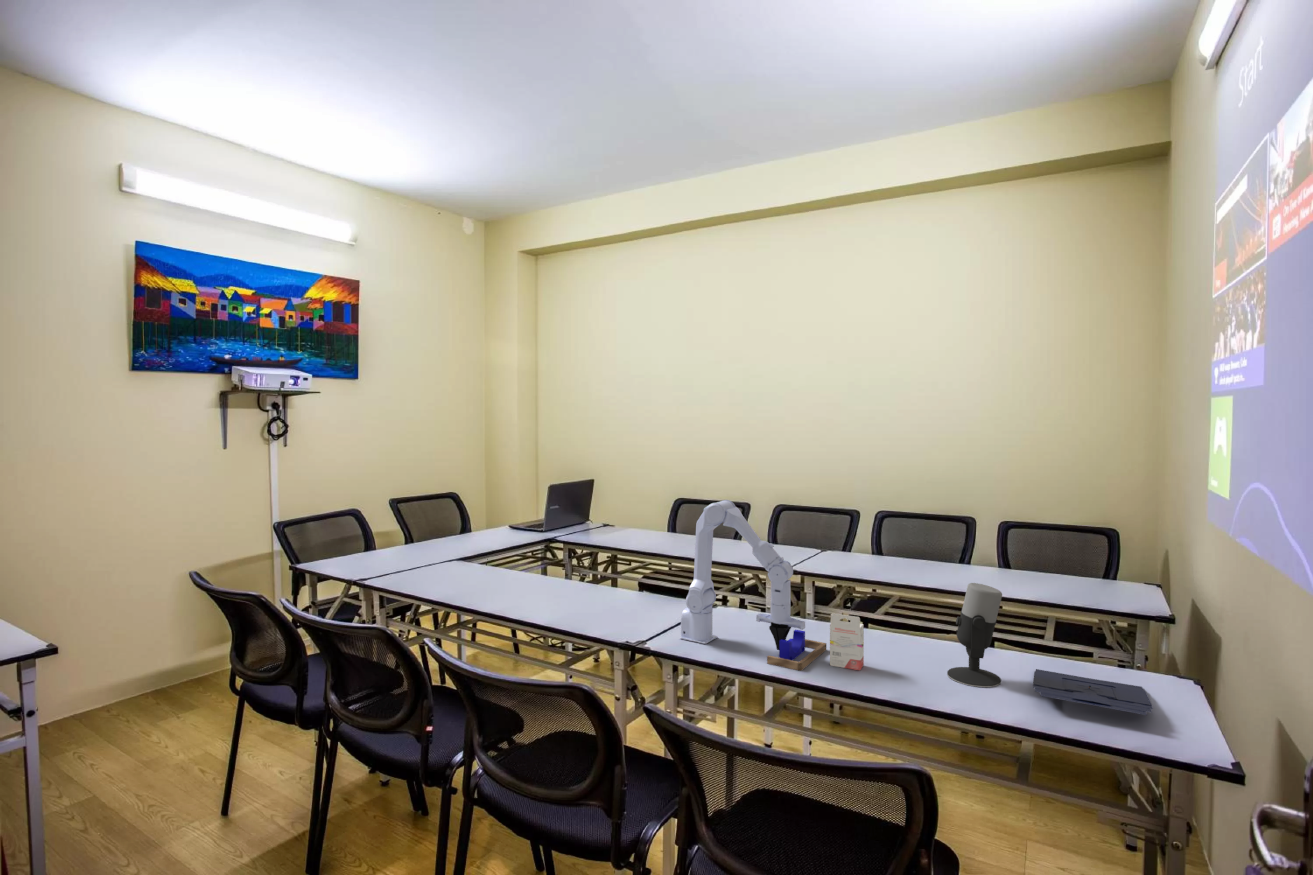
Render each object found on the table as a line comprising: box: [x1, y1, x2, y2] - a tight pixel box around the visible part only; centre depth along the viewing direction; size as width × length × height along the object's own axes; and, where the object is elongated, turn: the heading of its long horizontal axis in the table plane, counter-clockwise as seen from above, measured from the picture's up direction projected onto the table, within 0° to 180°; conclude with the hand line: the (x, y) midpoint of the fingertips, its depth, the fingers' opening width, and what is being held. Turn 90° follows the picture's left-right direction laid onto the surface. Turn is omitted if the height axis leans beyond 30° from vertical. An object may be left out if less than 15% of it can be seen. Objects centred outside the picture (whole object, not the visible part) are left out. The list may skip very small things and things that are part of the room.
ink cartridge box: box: [829, 613, 865, 671], centre depth 191 cm, size 9×5×15 cm, turn 62°
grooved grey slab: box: [1032, 668, 1154, 716], centre depth 169 cm, size 24×30×4 cm
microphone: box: [946, 582, 1003, 688], centre depth 182 cm, size 13×13×25 cm
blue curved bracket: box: [778, 628, 806, 661], centre depth 199 cm, size 12×4×6 cm, turn 147°
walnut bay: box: [766, 638, 827, 672], centre depth 198 cm, size 10×20×2 cm, turn 147°
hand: (780, 649), depth 201 cm, fingers closed
